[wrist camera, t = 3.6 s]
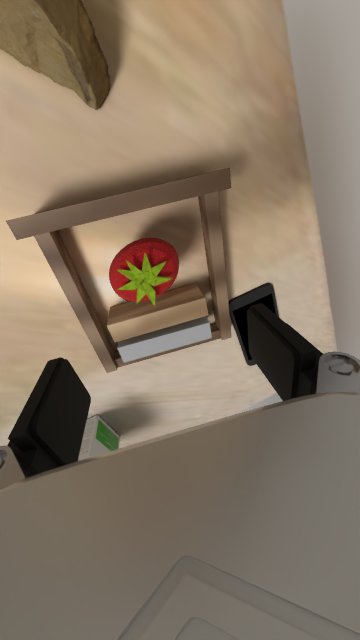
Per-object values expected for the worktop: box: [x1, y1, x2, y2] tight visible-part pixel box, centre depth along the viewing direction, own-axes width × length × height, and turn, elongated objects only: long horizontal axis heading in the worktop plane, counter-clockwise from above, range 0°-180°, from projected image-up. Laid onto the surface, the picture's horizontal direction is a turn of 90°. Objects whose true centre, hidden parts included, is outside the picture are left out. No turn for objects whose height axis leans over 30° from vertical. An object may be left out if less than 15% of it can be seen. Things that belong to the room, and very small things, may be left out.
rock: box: [0, 0, 110, 110], centre depth 15 cm, size 11×9×10 cm
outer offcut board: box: [117, 316, 212, 363], centre depth 30 cm, size 2×12×5 cm, turn 101°
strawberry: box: [109, 238, 179, 306], centre depth 23 cm, size 6×8×10 cm
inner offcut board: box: [107, 283, 208, 342], centre depth 29 cm, size 2×12×5 cm, turn 102°
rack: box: [6, 168, 231, 373], centre depth 26 cm, size 21×19×6 cm
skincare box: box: [78, 415, 120, 461], centre depth 35 cm, size 8×7×16 cm
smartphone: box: [228, 283, 279, 366], centre depth 36 cm, size 7×15×1 cm, turn 23°
